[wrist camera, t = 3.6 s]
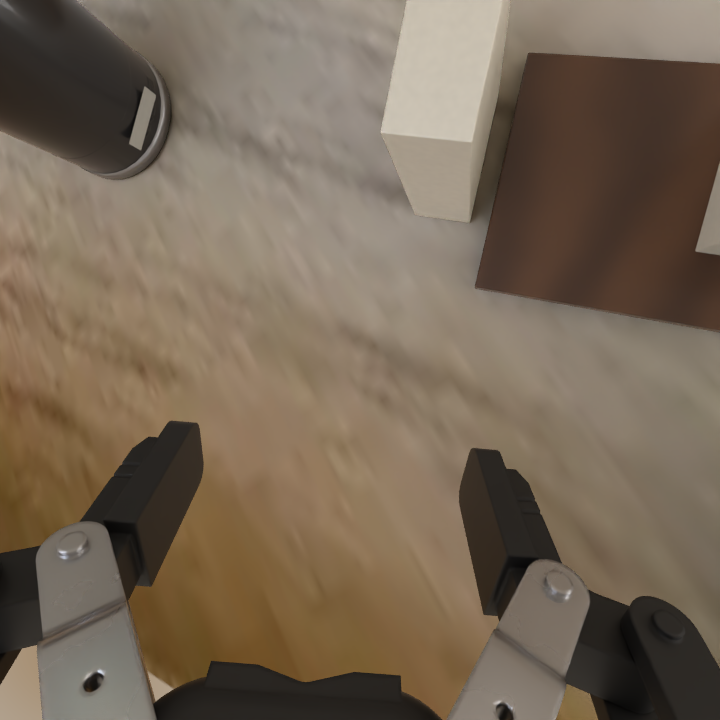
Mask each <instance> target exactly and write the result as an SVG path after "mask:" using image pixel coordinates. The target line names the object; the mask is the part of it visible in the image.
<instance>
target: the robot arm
mask: <svg viewBox="0 0 720 720" xmlns="http://www.w3.org/2000/svg"><path fill="white" fill-rule="evenodd" d="M170 116H171V107H170V98H169V93H168V90H167V87H166V84H165V82H164V80H163V78H162V76H161V74H160V73H159V72H158V70H157V69H156V68H155V67H154V66H153V65H152V64H151V63H150V62H149V61H148V60H147V59H145V58H144V57H143V56H142V55H141V54H139V53H138V52H136V51H135V50H133V49H132V48H130V47H129V46H128V45H127V44H126V43H125V42H124V41H122V40H121V39H120V38H119V37H118V36H117V35H115V34H114V33H113V32H112V31H111V30H110V29H109V28H108V27H106V26H105V25H104V24H103V23H102V22H101V21H99V20H98V19H97V18H96V17H95V16H94V15H92V14H91V13H90V12H89V11H88V10H87V9H85V8H84V7H83V6H82V5H81V4H80V3H79V2H77V1H76V0H0V131H1V132H4V133H6V134H8V135H11V136H13V137H15V138H17V139H20V140H22V141H24V142H26V143H29V144H31V145H33V146H35V147H38V148H40V149H42V150H44V151H47V152H49V153H51V154H53V155H55V156H58V157H60V158H62V159H64V160H67V161H69V162H71V163H74V164H76V165H78V166H80V167H81V168H83V169H84V170H86V171H88V172H91V173H93V174H95V175H97V176H100V177H103V178H106V179H124V178H128V177H131V176H133V175H135V174H137V173H139V172H141V171H142V170H143V169H145V168H146V167H147V166H148V165H149V164H150V163H151V162H152V161H153V160H154V159H155V157H156V156H157V154H158V153H159V151H160V150H161V148H162V146H163V144H164V142H165V139H166V136H167V133H168V129H169V124H170ZM202 474H203V454H202V445H201V437H200V429H199V425H198V424H197V423H192V422H180V421H169V422H168V423H167V425H166V426H165V428H164V429H163V431H162V432H161V434H160V435H159V437H158V438H157V437H148V438H146V439H145V440H143V441H142V442H141V443H139V444H138V445H136V446H135V447H134V448H132V450H131V451H130V453H129V454H128V455H127V457H126V458H125V460H124V461H123V463H122V465H120V466H119V468H118V469H117V471H116V472H115V473H114V477H112V478H111V479H110V480H109V482H108V483H107V484H106V486H105V487H104V489H103V490H102V491H101V493H100V494H99V496H98V497H97V498H96V500H95V501H94V503H93V504H92V505H91V507H90V508H89V509H88V511H87V512H86V514H85V515H84V516H83V518H82V519H81V520H80V522H78V523H74V524H71V525H68V526H66V527H63V528H62V529H60V530H58V531H56V532H55V533H53V534H52V535H51V536H50V537H48V538H47V539H46V540H45V541H44V543H43V544H42V545H41V546H37V547H32V548H27V549H21V550H16V551H10V552H5V553H0V684H1V683H2V681H3V679H4V678H5V676H6V674H7V673H8V671H9V669H10V668H11V666H12V664H13V663H14V661H15V659H16V658H17V656H18V654H19V653H20V651H21V649H22V648H26V647H30V646H34V645H37V658H38V669H39V682H40V693H41V706H42V718H43V720H442V719H441V718H440V717H439V716H438V715H437V714H436V713H435V712H434V711H433V710H431V709H430V708H429V707H428V706H426V705H425V704H424V703H422V702H421V701H420V700H418V699H416V698H414V697H413V696H411V695H409V694H407V693H404V692H402V691H401V676H399V675H386V674H373V673H360V672H352V673H348V674H343V675H339V676H334V677H330V678H325V679H321V680H316V681H312V682H301V681H298V680H295V679H293V678H290V677H288V676H285V675H283V674H280V673H278V672H275V671H273V670H270V669H268V668H265V667H263V666H260V665H256V664H243V663H230V662H217V661H211V663H210V667H209V670H208V673H207V677H204V678H199V679H196V680H194V681H191V682H188V683H186V684H184V685H182V686H180V687H177V688H175V689H174V690H172V691H170V692H169V693H167V694H166V695H164V696H163V697H161V698H160V699H159V700H157V701H156V702H155V698H154V694H153V691H152V687H151V684H150V680H149V677H148V673H147V669H146V665H145V662H144V658H143V654H142V650H141V646H140V643H139V639H138V635H137V631H136V628H135V624H134V620H133V616H132V612H131V609H130V605H129V601H128V600H129V598H130V596H131V594H132V592H133V590H134V588H135V586H136V585H137V586H149V587H151V586H152V584H153V582H154V580H155V578H156V576H157V573H158V571H159V569H160V567H161V565H162V563H163V561H164V559H165V556H166V554H167V552H168V550H169V548H170V546H171V544H172V542H173V539H174V537H175V535H176V533H177V531H178V529H179V527H180V525H181V522H182V520H183V518H184V516H185V514H186V512H187V510H188V508H189V505H190V503H191V501H192V499H193V497H194V495H195V493H196V491H197V488H198V486H199V484H200V481H201V478H202ZM459 503H460V509H461V514H462V518H463V523H464V528H465V532H466V537H467V541H468V546H469V550H470V555H471V559H472V564H473V569H474V573H475V578H476V582H477V587H478V591H479V596H480V600H481V605H482V610H483V614H484V615H492V616H498V619H499V624H498V626H497V627H496V629H494V631H493V633H492V634H491V636H490V638H489V640H488V642H487V644H486V646H485V648H484V650H483V651H482V653H481V655H480V657H479V659H478V661H477V663H476V665H475V667H474V669H473V670H472V672H471V674H470V676H469V678H468V680H467V682H466V684H465V686H464V688H463V689H462V691H461V693H460V695H459V697H458V699H457V701H456V703H455V705H454V707H453V708H452V710H451V712H450V714H449V716H448V718H447V720H556V717H557V714H558V711H559V708H560V705H561V702H562V699H563V696H564V693H565V689H566V684H569V685H571V686H574V687H576V688H578V689H581V690H583V691H585V692H587V693H590V695H591V698H592V701H593V704H594V707H595V710H596V713H597V717H598V720H720V668H719V666H718V665H717V663H716V661H715V659H714V658H713V656H712V654H711V652H710V651H709V649H708V647H707V645H706V644H705V642H704V640H703V638H702V637H701V635H700V633H699V632H698V630H697V628H696V627H695V626H694V624H693V623H692V622H691V621H690V620H689V619H688V618H687V617H686V615H684V614H683V613H682V612H681V611H680V610H678V609H677V608H676V607H674V606H673V605H671V604H669V603H668V602H665V601H663V600H661V599H658V598H655V597H651V596H641V597H638V598H636V599H635V600H633V602H632V603H631V605H630V606H627V605H625V604H622V603H619V602H617V601H614V600H611V599H609V598H606V597H603V596H601V595H598V594H596V593H594V592H592V591H590V590H588V589H587V587H586V585H585V584H584V582H583V581H582V579H581V578H580V577H579V576H578V575H577V574H576V573H575V572H574V571H573V570H571V569H570V568H569V567H567V566H565V565H564V564H562V562H561V560H560V558H559V555H558V553H557V550H556V548H555V546H554V543H553V541H552V538H551V536H550V534H549V531H548V529H547V526H546V524H545V522H544V519H543V517H542V515H541V514H540V510H539V507H538V505H537V503H536V502H535V498H534V495H533V493H532V491H531V488H530V486H529V484H528V482H527V481H526V480H525V479H524V478H523V477H522V476H521V475H520V474H519V473H518V471H517V470H514V469H506V467H505V465H504V462H503V459H502V457H501V454H500V452H499V451H498V450H489V449H478V448H472V449H471V450H470V453H469V456H468V460H467V463H466V467H465V470H464V474H463V478H462V481H461V485H460V491H459Z"/></svg>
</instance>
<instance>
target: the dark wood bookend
mask: <svg viewBox="0 0 720 720" xmlns="http://www.w3.org/2000/svg"><path fill="white" fill-rule="evenodd" d="M719 163H720V64H716V63H699V62H682V61H664V60H647V59H630V58H613V57H596V56H579V55H562V54H544V53H528V56H527V60H526V65H525V69H524V73H523V78H522V82H521V87H520V91H519V95H518V100H517V104H516V109H515V113H514V117H513V122H512V126H511V131H510V135H509V139H508V144H507V148H506V152H505V157H504V161H503V166H502V170H501V174H500V179H499V183H498V188H497V192H496V196H495V201H494V205H493V210H492V214H491V218H490V223H489V227H488V231H487V236H486V240H485V245H484V249H483V253H482V258H481V262H480V267H479V271H478V275H477V280H476V284H475V288H476V289H481V290H486V291H492V292H497V293H503V294H508V295H514V296H520V297H525V298H531V299H536V300H542V301H548V302H553V303H559V304H564V305H570V306H575V307H581V308H587V309H592V310H598V311H603V312H609V313H614V314H620V315H626V316H631V317H637V318H642V319H648V320H654V321H659V322H665V323H670V324H676V325H681V326H687V327H693V328H698V329H704V330H709V331H715V332H720V255H716V254H709V253H702V252H696V251H695V250H696V246H697V242H698V239H699V235H700V232H701V228H702V224H703V221H704V217H705V214H706V210H707V206H708V203H709V199H710V196H711V192H712V188H713V185H714V181H715V177H716V174H717V170H718V167H719Z"/></svg>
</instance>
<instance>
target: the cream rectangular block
mask: <svg viewBox="0 0 720 720" xmlns="http://www.w3.org/2000/svg"><path fill="white" fill-rule="evenodd" d="M695 251H696V252H702V253H709V254H716V255H720V163H719V167H718V170H717V174H716V177H715V181H714V185H713V188H712V192H711V196H710V199H709V203H708V206H707V210H706V214H705V217H704V221H703V224H702V228H701V232H700V235H699V239H698V242H697V246H696V250H695Z"/></svg>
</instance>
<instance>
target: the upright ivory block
mask: <svg viewBox="0 0 720 720" xmlns="http://www.w3.org/2000/svg"><path fill="white" fill-rule="evenodd" d="M510 3H511V0H406V5H405V10H404V15H403V20H402V25H401V30H400V35H399V40H398V46H397V51H396V56H395V61H394V66H393V71H392V76H391V81H390V86H389V91H388V96H387V101H386V106H385V111H384V116H383V121H382V126H381V131H380V132H381V135H382V137H383V140H384V142H385V144H386V147H387V149H388V152H389V154H390V156H391V159H392V161H393V163H394V166H395V168H396V171H397V173H398V175H399V178H400V180H401V182H402V185H403V187H404V190H405V192H406V194H407V197H408V199H409V201H410V204H411V206H412V208H413V211H414V213H415V215H417V216H424V217H431V218H438V219H445V220H451V221H458V222H465V223H470V220H471V216H472V211H473V207H474V202H475V198H476V193H477V189H478V184H479V180H480V175H481V171H482V166H483V162H484V157H485V153H486V148H487V144H488V139H489V135H490V130H491V126H492V122H493V117H494V113H495V108H496V104H497V99H498V94H499V87H500V79H501V72H502V64H503V56H504V49H505V41H506V34H507V26H508V18H509V11H510Z"/></svg>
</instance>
